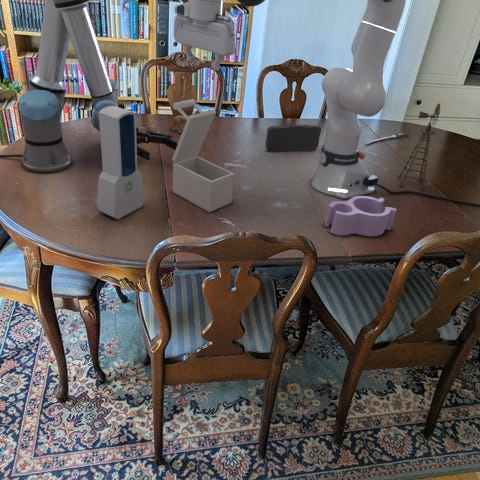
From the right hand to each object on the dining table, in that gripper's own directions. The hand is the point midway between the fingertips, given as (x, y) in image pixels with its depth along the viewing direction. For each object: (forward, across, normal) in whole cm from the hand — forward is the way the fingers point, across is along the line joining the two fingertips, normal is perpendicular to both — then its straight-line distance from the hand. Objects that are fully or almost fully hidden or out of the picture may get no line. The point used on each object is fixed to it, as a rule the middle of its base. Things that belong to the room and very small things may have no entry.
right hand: (202, 66), depth 130 cm
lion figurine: (+40, +43, -37) cm, 70 cm away
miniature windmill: (+40, -45, -68) cm, 90 cm away
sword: (+40, -18, -105) cm, 114 cm away
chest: (+40, -2, 0) cm, 40 cm away
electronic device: (+40, +7, +24) cm, 47 cm away
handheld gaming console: (+40, +3, -58) cm, 70 cm away
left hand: (+31, +16, -1) cm, 35 cm away
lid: (+22, +2, 0) cm, 22 cm away
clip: (+40, -46, -23) cm, 65 cm away
